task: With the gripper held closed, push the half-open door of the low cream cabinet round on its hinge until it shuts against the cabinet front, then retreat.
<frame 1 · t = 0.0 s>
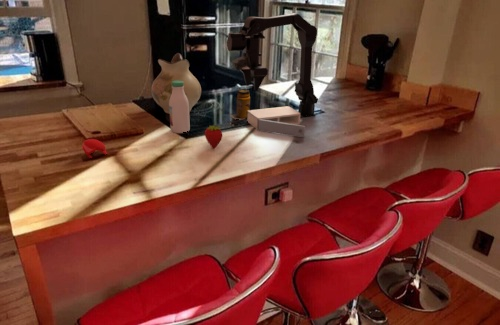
hand: (251, 88, 159), 15 cm above the worktop, fingers open, 9 cm apart
cabinet: (273, 122, 164), on the worktop
pitcher: (177, 110, 177), on the worktop
door: (280, 128, 150), point 3 cm above the worktop, hinge at 45.0°
milk bottle: (180, 130, 153), on the worktop
cap: (95, 155, 129), on the worktop
condiment: (241, 117, 171), on the worktop
strawberry: (213, 148, 137), on the worktop
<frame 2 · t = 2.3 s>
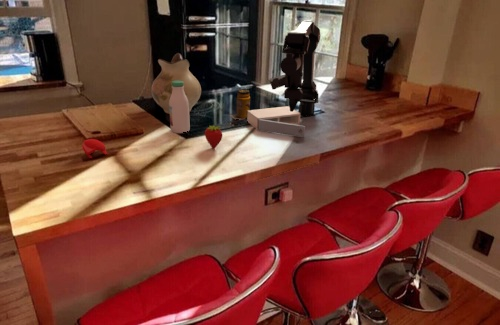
hand: (291, 111, 140), 12 cm above the worktop, fingers closed
nothing on the worktop moved.
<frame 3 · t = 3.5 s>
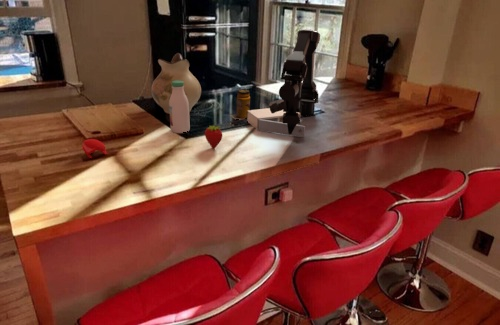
hand: (289, 133, 144), 3 cm above the worktop, fingers closed
nothing on the worktop moved.
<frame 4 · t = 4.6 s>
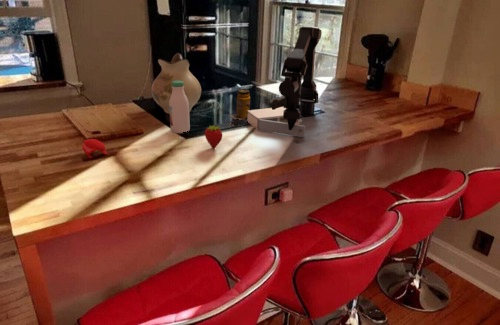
hand: (290, 129, 148), 3 cm above the worktop, fingers closed
door: (280, 128, 150), point 3 cm above the worktop, hinge at 44.1°, touching gripper
everything else where it was.
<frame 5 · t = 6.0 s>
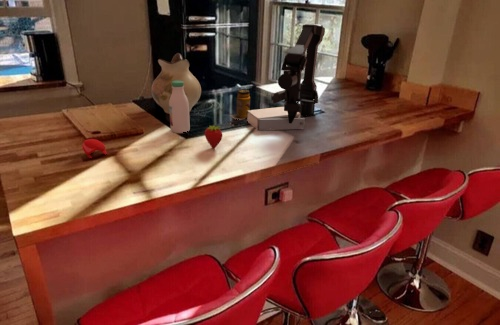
hand: (290, 123, 154), 3 cm above the worktop, fingers closed
door: (281, 124, 155), point 3 cm above the worktop, hinge at 15.1°, touching gripper
everything else where it was.
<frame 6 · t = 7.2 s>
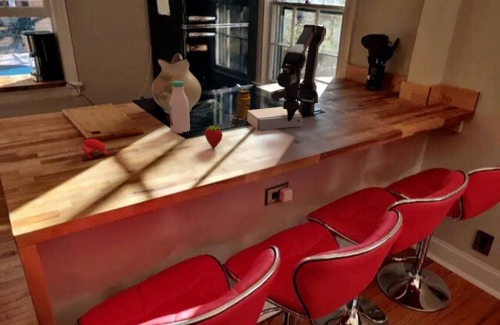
hand: (289, 121, 156), 3 cm above the worktop, fingers closed
door: (280, 122, 156), point 3 cm above the worktop, hinge at 4.3°, touching gripper
everything else where it was.
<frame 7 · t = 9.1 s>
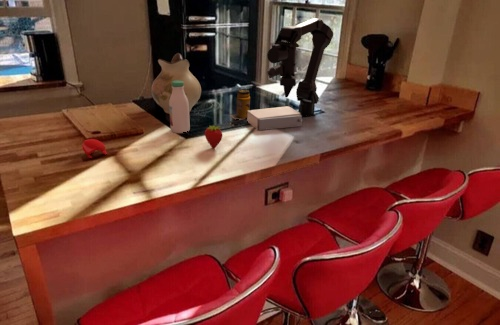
hand: (286, 97, 159), 12 cm above the worktop, fingers closed
door: (280, 122, 156), point 3 cm above the worktop, hinge at 4.2°
everything else where it was.
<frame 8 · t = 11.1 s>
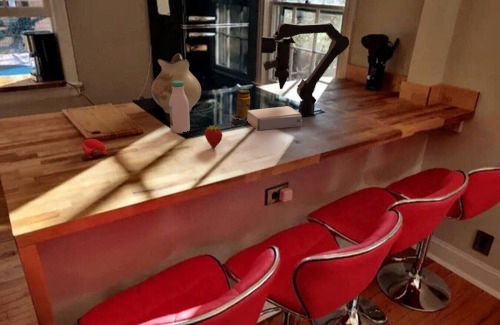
hand: (281, 89, 169), 12 cm above the worktop, fingers closed
nothing on the worktop moved.
at the end: door at +4° (first picture: +45°) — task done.
